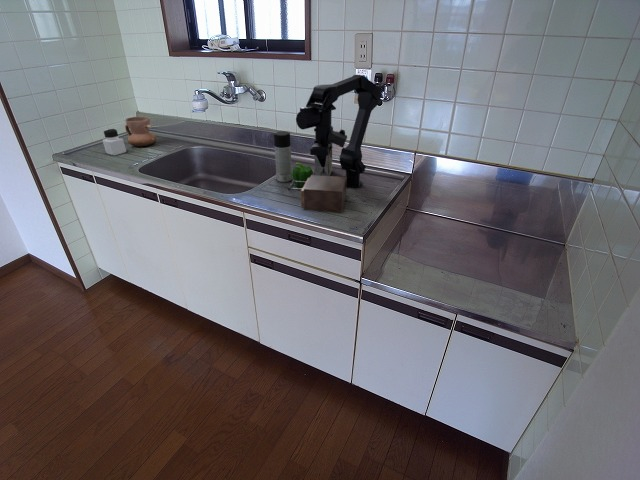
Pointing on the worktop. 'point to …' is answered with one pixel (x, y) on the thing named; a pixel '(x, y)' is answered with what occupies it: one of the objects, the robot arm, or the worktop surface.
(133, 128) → the ceramic jug
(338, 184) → the cabinet
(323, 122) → the robot arm
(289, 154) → the spray can
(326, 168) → the coffee box
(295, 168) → the bell pepper
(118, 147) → the medicine bottle
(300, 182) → the drawer
